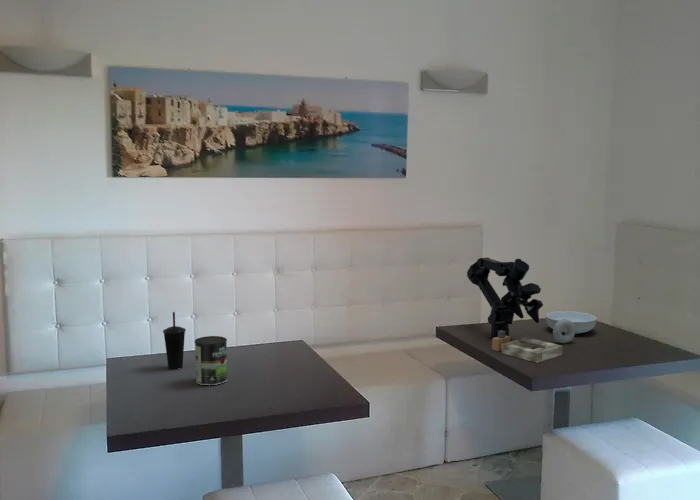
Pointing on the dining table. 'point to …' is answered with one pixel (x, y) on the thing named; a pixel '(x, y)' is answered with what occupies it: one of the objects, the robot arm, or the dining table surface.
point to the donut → (558, 329)
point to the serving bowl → (579, 319)
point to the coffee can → (211, 360)
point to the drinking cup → (174, 345)
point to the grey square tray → (532, 349)
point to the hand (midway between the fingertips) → (530, 320)
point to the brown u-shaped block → (499, 340)
